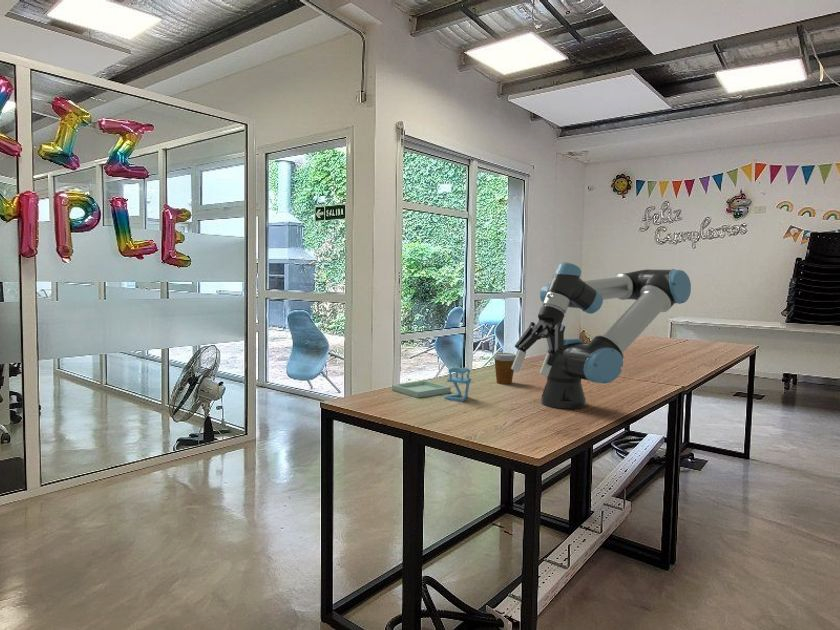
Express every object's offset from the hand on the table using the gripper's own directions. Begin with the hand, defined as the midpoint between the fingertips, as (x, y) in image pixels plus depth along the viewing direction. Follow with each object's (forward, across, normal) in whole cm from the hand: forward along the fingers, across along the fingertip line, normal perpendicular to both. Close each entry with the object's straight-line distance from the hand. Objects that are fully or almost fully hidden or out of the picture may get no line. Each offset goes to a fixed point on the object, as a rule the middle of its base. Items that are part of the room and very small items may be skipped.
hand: (528, 372), depth 167 cm
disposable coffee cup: (-4, -56, +33) cm, 65 cm away
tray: (+15, -55, -2) cm, 57 cm away
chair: (+12, -39, +5) cm, 41 cm away
